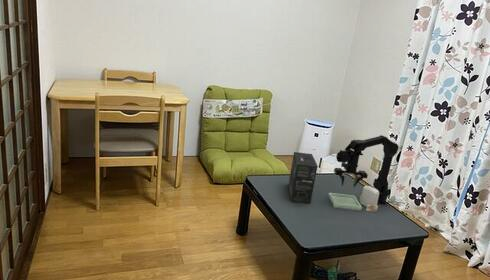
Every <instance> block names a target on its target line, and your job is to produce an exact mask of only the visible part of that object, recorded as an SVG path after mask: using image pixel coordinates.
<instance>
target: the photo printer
mask: <svg viewBox="0 0 490 280" xmlns="http://www.w3.org/2000/svg"><path fill="white" fill-rule="evenodd" d="M361 195H362V196H361ZM361 195H360V196H361V201H359V203H360V205H363V206H364V207H367V205H375V206H378V204H377V202H378V197H379V191H378V190H377V189H375V188H374V187H373V186H370V185H364V186H363V188H362V192H361Z"/></svg>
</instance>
